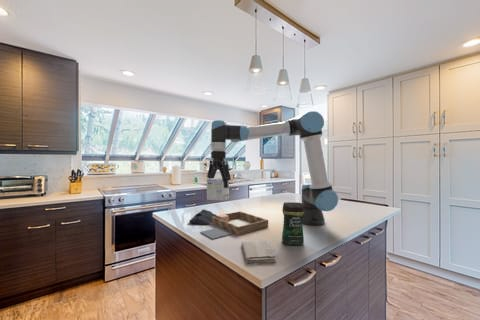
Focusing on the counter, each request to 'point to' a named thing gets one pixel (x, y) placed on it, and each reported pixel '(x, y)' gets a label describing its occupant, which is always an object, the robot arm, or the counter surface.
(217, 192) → the light bulb box
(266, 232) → the counter surface
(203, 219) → the dark slate chunk
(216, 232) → the mat
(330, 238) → the counter surface
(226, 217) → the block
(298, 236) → the coffee jar
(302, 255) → the counter surface
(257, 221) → the brown wooden tray
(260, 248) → the washcloth
